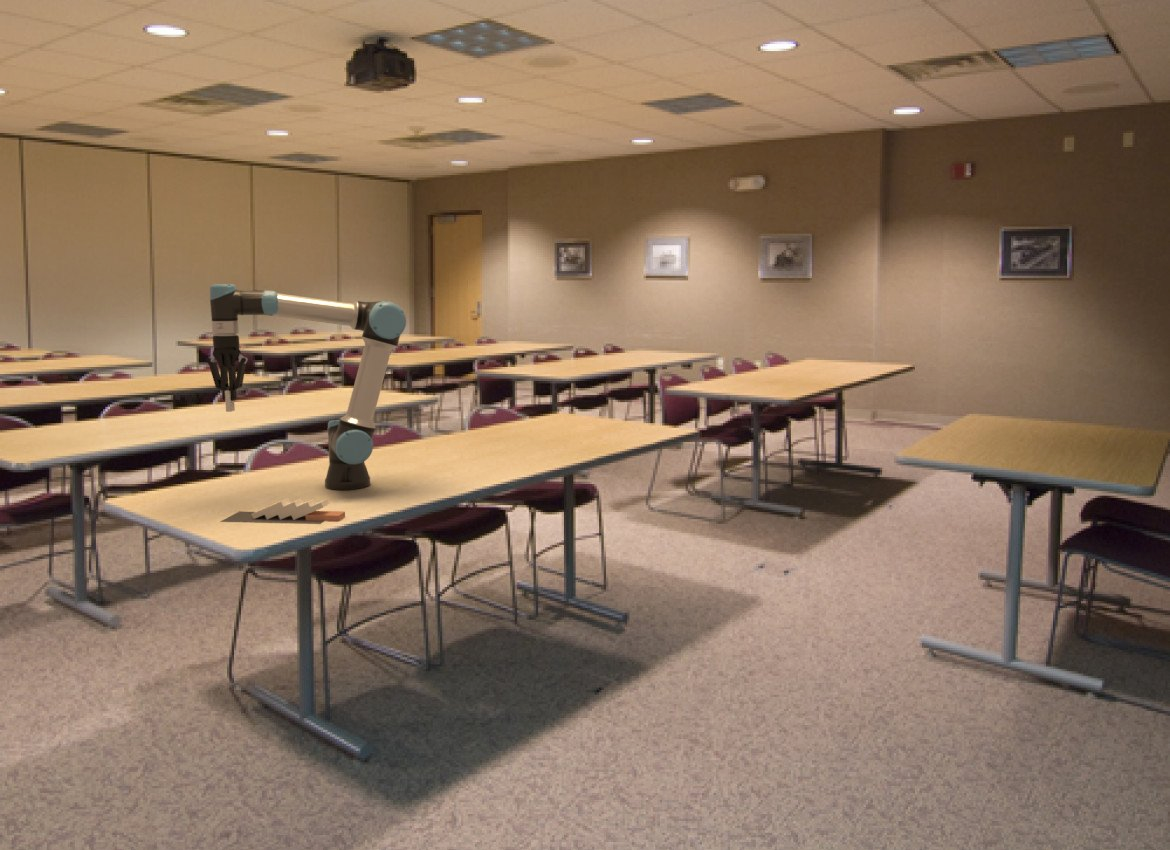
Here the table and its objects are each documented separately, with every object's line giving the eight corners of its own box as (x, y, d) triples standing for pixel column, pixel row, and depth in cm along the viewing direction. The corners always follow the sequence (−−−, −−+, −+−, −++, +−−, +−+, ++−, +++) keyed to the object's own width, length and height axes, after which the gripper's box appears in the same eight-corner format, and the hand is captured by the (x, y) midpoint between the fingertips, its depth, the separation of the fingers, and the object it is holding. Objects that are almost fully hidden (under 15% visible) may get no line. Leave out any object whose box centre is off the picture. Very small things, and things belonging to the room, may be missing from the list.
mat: (220, 522, 262) (219, 521, 261) (239, 512, 273) (239, 511, 273) (320, 524, 259) (320, 523, 259) (335, 514, 271) (335, 513, 271)
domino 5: (305, 515, 263) (338, 515, 262) (312, 510, 267) (344, 511, 267) (305, 520, 263) (339, 521, 262) (312, 516, 268) (345, 516, 267)
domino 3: (277, 514, 263) (307, 502, 262) (285, 510, 268) (314, 498, 267) (280, 519, 263) (310, 507, 262) (287, 515, 268) (316, 503, 267)
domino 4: (291, 515, 263) (321, 502, 262) (298, 510, 268) (327, 498, 266) (293, 520, 263) (323, 507, 262) (300, 515, 268) (329, 503, 267)
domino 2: (264, 514, 264) (294, 501, 262) (271, 510, 269) (301, 497, 267) (266, 519, 264) (296, 506, 262) (274, 515, 269) (303, 502, 267)
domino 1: (251, 514, 264) (280, 501, 263) (259, 510, 269) (288, 497, 268) (253, 519, 264) (283, 506, 263) (261, 514, 269) (290, 502, 268)
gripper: (199, 335, 273) (204, 412, 277) (240, 335, 272) (245, 413, 276) (211, 334, 281) (216, 409, 284) (251, 334, 280) (256, 409, 283)
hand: (230, 411), depth 280 cm, fingers closed
